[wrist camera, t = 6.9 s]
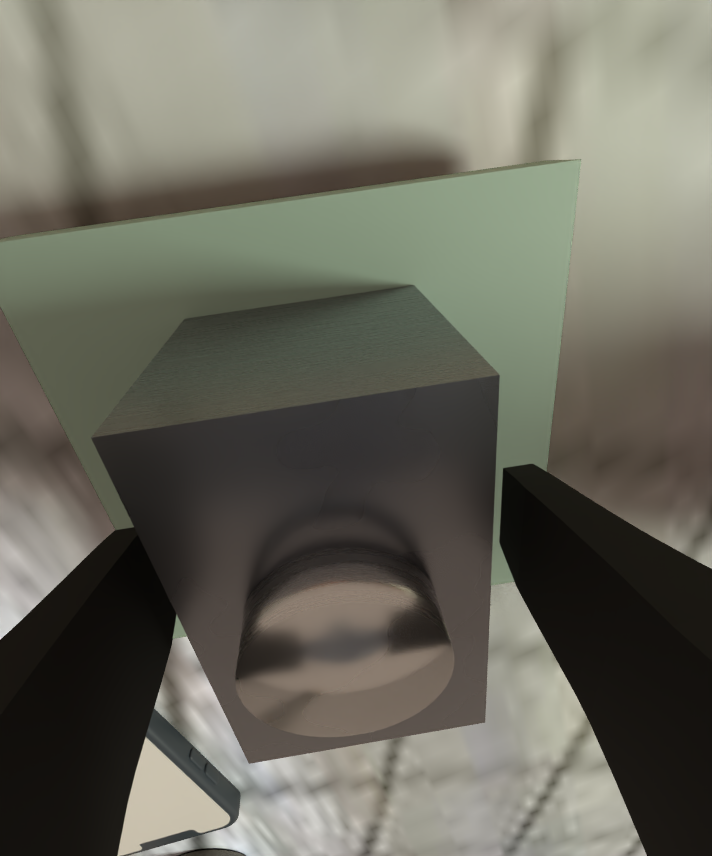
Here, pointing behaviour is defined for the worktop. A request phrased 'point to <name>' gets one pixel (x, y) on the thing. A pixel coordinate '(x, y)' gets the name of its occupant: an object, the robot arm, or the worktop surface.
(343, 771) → the worktop surface
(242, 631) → the housing
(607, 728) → the robot arm
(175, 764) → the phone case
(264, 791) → the worktop surface
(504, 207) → the stand
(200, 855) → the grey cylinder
